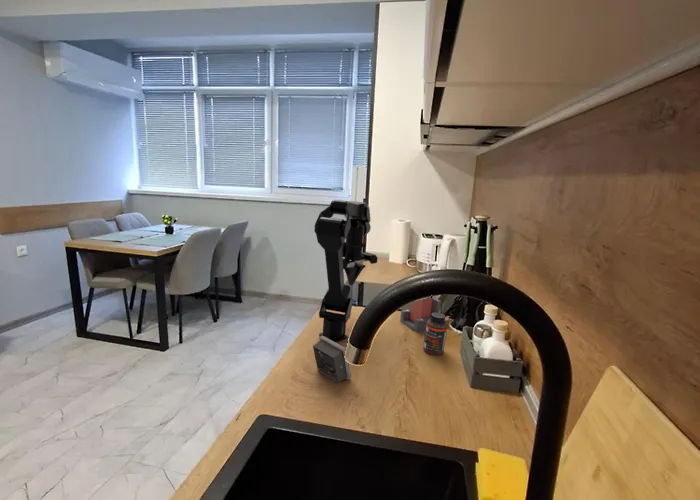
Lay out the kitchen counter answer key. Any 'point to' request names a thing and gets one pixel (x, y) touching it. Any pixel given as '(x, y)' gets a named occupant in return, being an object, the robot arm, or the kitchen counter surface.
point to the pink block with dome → (420, 309)
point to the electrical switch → (331, 359)
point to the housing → (422, 322)
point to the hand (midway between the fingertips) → (350, 284)
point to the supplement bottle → (435, 334)
